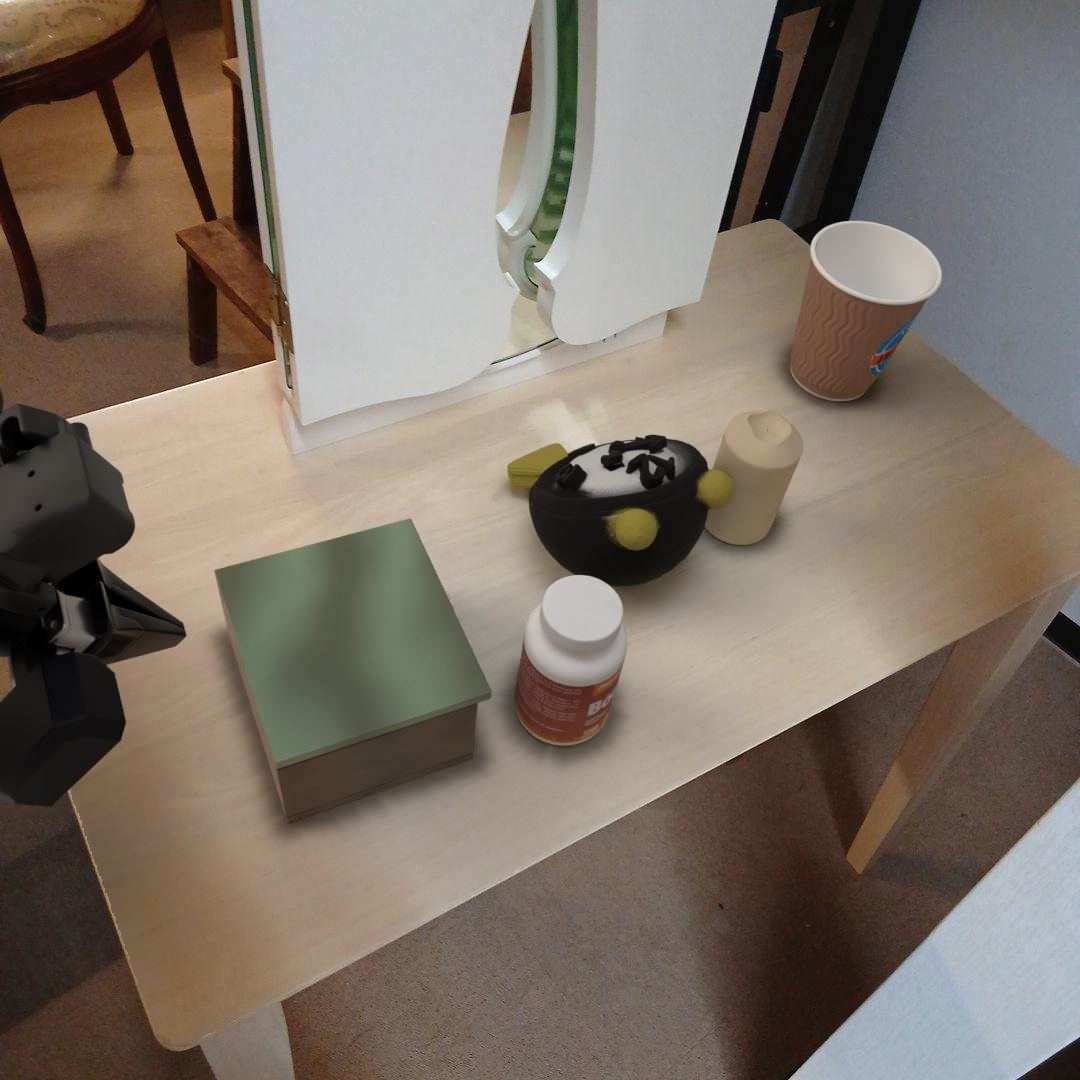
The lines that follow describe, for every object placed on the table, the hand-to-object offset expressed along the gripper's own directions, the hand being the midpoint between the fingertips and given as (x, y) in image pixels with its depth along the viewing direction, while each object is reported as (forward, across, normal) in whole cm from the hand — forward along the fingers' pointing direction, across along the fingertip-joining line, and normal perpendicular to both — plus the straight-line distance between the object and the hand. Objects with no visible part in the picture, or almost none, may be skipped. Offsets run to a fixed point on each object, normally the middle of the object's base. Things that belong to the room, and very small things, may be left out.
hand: (180, 635), depth 56 cm
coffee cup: (+48, +16, -32) cm, 60 cm away
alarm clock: (+29, +6, -13) cm, 32 cm away
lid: (+10, 0, -3) cm, 10 cm away
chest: (+14, 0, +2) cm, 14 cm away
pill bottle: (+23, -5, -7) cm, 25 cm away
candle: (+37, +5, -20) cm, 42 cm away
